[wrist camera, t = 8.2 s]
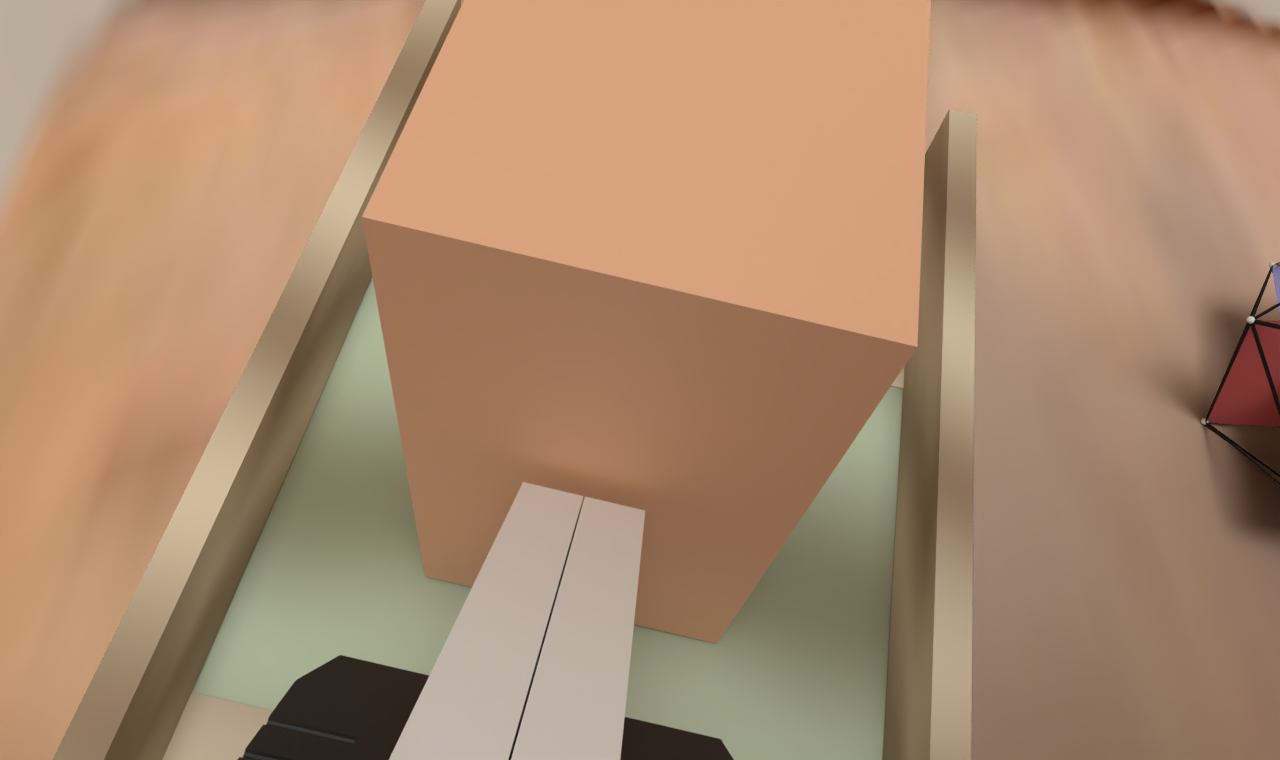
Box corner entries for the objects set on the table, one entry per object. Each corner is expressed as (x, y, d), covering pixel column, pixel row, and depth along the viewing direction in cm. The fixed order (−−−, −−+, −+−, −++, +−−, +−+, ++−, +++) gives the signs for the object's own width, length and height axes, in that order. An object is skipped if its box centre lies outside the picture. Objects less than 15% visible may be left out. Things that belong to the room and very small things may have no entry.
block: (504, 336, 19) (511, -99, 11) (753, 395, 19) (930, 0, 11) (424, 576, 16) (362, 216, 8) (716, 643, 16) (916, 346, 8)
